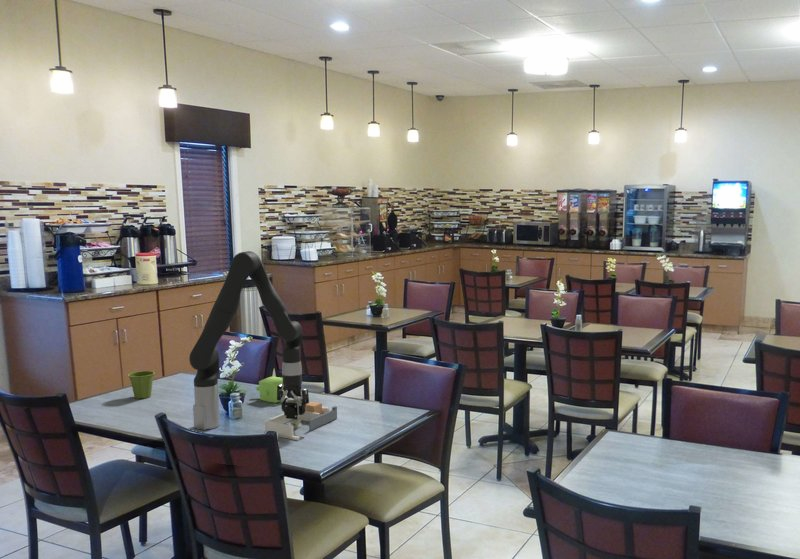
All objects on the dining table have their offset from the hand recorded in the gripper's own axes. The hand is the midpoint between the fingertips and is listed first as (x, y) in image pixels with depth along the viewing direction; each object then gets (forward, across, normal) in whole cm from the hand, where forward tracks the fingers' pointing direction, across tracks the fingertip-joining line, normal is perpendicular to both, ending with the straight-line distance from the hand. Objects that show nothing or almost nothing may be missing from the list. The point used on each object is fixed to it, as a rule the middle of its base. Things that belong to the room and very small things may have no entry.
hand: (293, 412), depth 269 cm
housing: (+7, +1, +4) cm, 8 cm away
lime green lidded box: (+7, -37, +28) cm, 47 cm away
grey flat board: (+5, +9, +8) cm, 13 cm away
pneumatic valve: (+6, 0, 0) cm, 6 cm away
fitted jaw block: (+6, 0, +13) cm, 14 cm away
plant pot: (+8, -94, +3) cm, 94 cm away
